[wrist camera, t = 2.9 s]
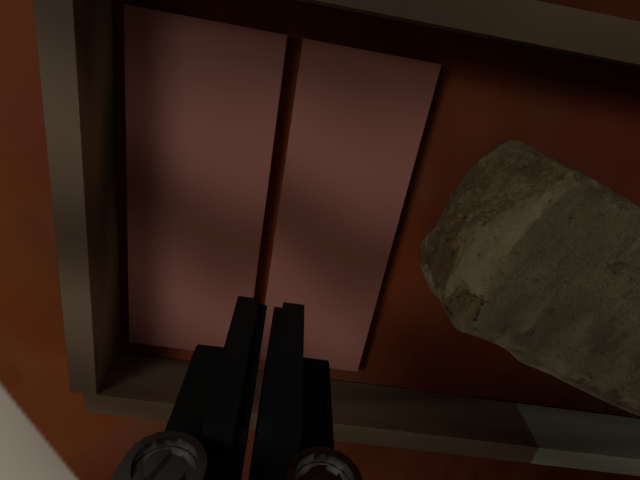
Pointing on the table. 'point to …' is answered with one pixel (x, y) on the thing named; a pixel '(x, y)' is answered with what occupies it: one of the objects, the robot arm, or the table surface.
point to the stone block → (543, 269)
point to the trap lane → (293, 215)
